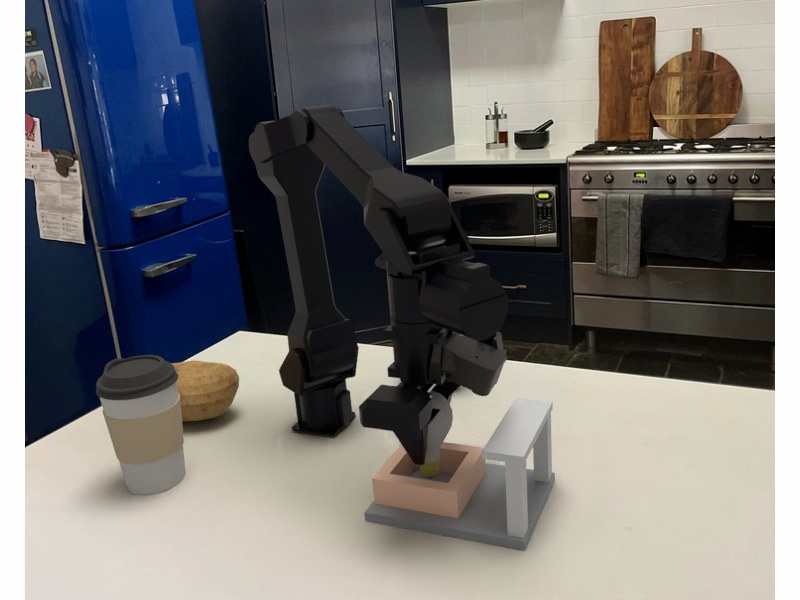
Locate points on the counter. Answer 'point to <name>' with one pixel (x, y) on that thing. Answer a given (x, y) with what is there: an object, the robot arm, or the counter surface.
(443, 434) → the light bulb
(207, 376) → the potato
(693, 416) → the counter surface
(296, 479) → the counter surface
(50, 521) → the counter surface
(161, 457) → the coffee cup
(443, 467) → the socket stand
